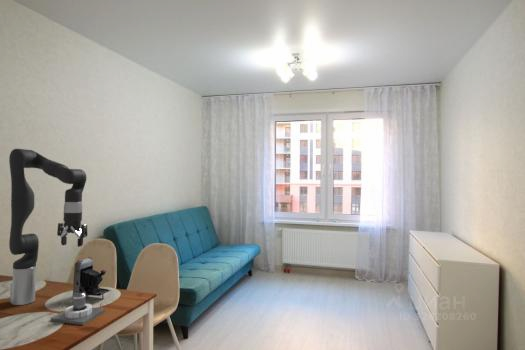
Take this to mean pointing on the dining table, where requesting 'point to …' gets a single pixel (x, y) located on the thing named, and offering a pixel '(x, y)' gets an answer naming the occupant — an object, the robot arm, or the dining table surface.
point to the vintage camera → (88, 278)
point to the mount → (78, 315)
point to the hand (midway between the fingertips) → (71, 245)
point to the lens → (79, 301)
